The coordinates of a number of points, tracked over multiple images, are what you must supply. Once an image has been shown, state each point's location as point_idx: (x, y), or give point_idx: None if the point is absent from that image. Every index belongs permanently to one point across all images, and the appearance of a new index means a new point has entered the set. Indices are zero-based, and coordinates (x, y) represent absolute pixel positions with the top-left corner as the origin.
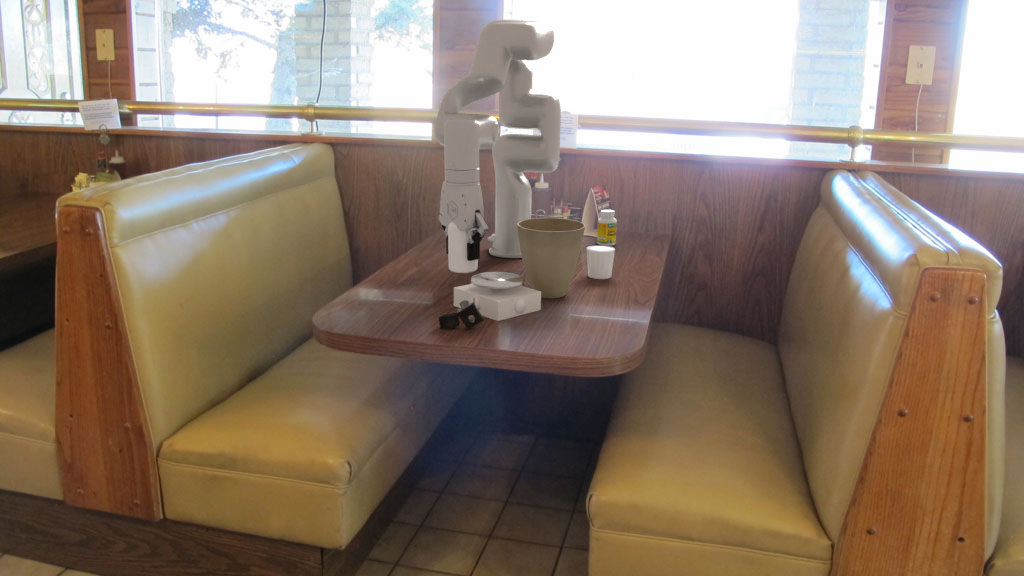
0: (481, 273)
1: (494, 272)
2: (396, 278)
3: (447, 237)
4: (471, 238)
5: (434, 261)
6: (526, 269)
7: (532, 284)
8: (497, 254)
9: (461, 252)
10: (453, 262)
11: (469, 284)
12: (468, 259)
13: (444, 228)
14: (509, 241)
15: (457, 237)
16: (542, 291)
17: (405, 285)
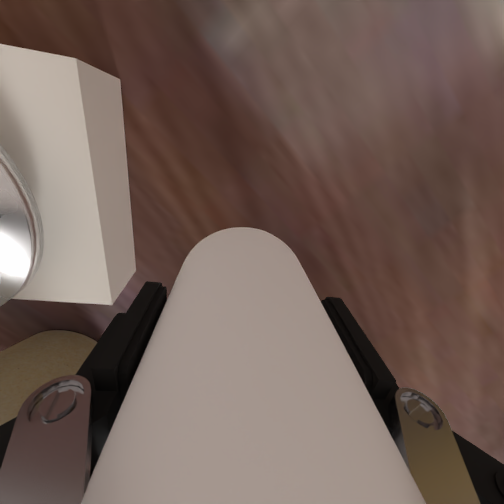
0: (15, 223)
1: (5, 278)
2: (493, 210)
3: (379, 379)
4: (16, 430)
5: (459, 367)
6: (24, 386)
7: (43, 349)
8: None
9: (181, 292)
10: (239, 243)
11: (86, 169)
12: (147, 282)
13: (484, 468)
14: None
15: (183, 380)
16: (22, 341)
17: (431, 170)
